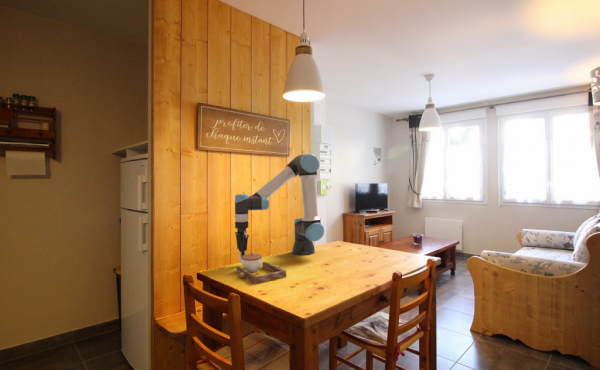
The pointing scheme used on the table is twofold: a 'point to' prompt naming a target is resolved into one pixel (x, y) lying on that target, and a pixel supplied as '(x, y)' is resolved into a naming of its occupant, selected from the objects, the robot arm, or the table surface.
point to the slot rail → (262, 278)
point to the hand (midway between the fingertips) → (242, 262)
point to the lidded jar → (251, 262)
